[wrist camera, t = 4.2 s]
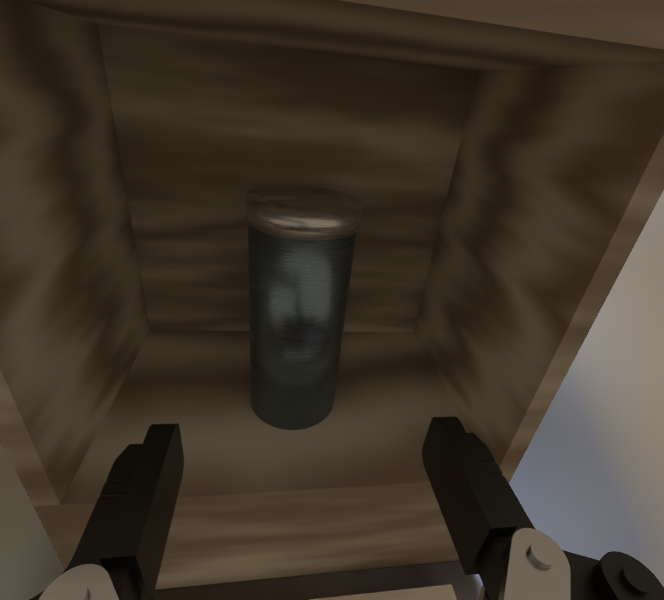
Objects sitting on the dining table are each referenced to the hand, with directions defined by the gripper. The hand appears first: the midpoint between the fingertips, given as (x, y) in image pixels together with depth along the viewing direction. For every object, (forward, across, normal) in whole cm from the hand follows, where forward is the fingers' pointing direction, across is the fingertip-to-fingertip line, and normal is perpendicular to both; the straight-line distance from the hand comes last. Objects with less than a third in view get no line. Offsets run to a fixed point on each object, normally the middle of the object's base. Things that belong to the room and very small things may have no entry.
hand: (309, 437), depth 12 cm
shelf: (+10, 0, +15) cm, 17 cm away
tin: (+8, 0, +7) cm, 11 cm away
